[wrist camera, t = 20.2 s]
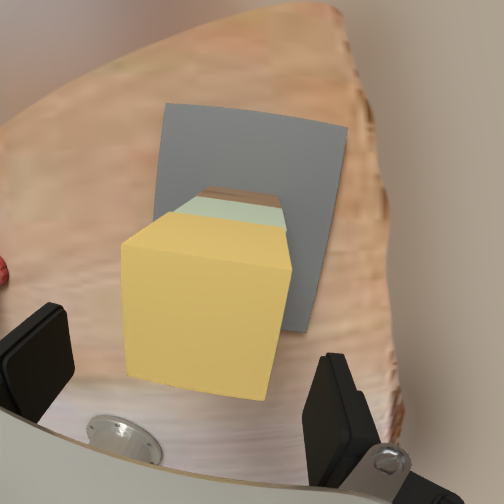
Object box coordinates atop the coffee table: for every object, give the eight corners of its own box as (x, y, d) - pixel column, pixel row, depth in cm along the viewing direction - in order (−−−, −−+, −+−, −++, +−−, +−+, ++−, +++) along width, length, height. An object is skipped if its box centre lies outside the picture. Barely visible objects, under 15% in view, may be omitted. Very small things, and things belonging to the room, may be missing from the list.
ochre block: (266, 329, 18) (264, 401, 13) (164, 312, 18) (127, 375, 13) (284, 227, 17) (292, 270, 11) (169, 211, 17) (121, 244, 11)
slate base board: (304, 325, 33) (305, 332, 32) (154, 301, 33) (150, 308, 32) (343, 128, 27) (347, 127, 26) (170, 105, 27) (165, 103, 26)
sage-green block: (268, 288, 24) (267, 330, 18) (188, 275, 24) (165, 313, 18) (282, 208, 22) (286, 229, 17) (196, 196, 22) (171, 212, 17)
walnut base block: (268, 260, 30) (267, 287, 24) (203, 250, 30) (187, 275, 24) (278, 195, 28) (281, 207, 22) (210, 186, 28) (195, 195, 22)
